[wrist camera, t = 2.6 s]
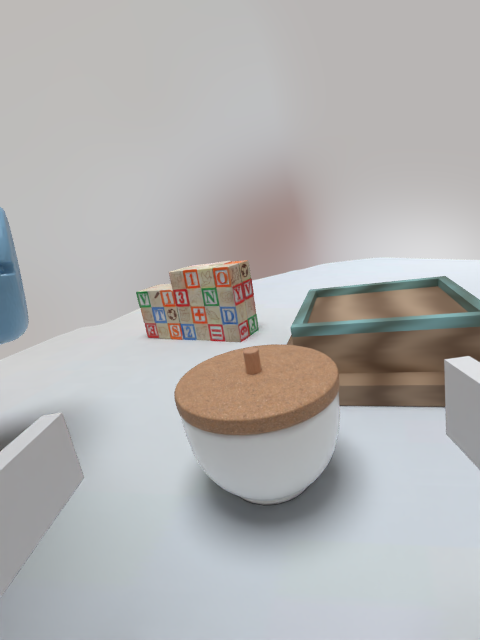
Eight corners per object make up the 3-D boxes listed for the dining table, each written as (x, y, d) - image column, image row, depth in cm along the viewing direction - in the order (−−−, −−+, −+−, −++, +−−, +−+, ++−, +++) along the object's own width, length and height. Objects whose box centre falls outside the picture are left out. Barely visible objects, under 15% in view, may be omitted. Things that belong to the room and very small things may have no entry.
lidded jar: (206, 435, 30) (185, 336, 27) (328, 420, 29) (317, 316, 27) (184, 547, 19) (146, 403, 17) (372, 527, 19) (360, 373, 16)
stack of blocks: (146, 339, 64) (131, 275, 61) (169, 328, 69) (155, 269, 66) (241, 343, 53) (228, 265, 50) (260, 329, 58) (248, 258, 55)
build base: (270, 404, 33) (259, 337, 31) (300, 331, 53) (294, 287, 51) (548, 407, 26) (556, 320, 24) (461, 321, 46) (462, 270, 44)
